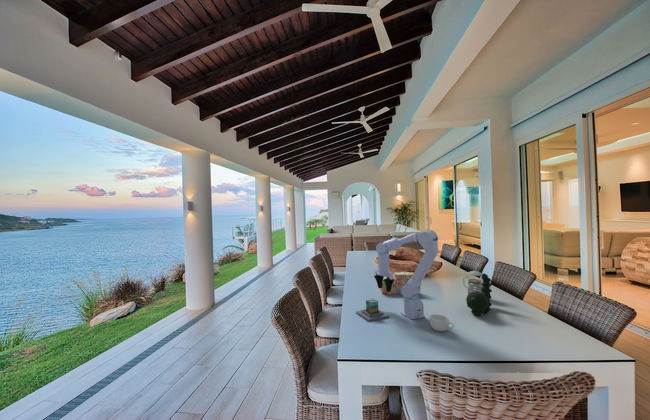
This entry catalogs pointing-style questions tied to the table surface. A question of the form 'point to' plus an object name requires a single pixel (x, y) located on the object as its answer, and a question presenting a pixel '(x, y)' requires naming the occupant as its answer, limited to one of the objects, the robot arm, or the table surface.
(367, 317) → the plate
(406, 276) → the stack of blocks
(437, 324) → the teacup
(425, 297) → the table surface
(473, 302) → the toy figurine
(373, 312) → the block stack
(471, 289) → the french press
